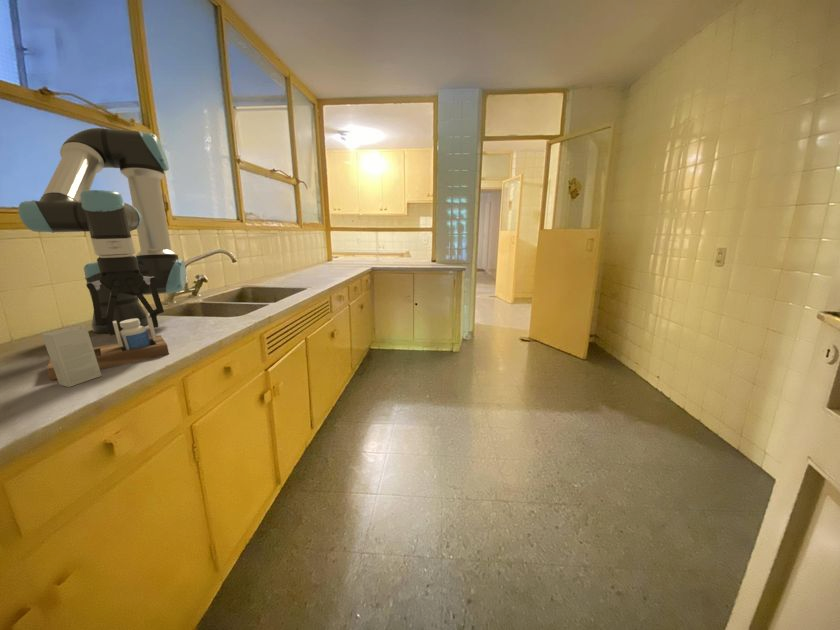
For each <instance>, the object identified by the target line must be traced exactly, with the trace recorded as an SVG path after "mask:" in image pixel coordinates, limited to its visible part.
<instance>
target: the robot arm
mask: <svg viewBox="0 0 840 630" xmlns="http://www.w3.org/2000/svg"><path fill="white" fill-rule="evenodd" d="M59 154H60V161H59V163H58V164H57V167H56V168H55V169H54V170H55V171H54V172H53V174H52V176H51V178H50V180H49V182H48V184H47V186H46V188H45V190H44V192H43V193H42V195H41V197H40V199H39V200H35V199H32V200H24V201H21V202H20V203H19V205H18V216H19V219H20V220H21V222H22V223H23V225H24V226H25V227H26V229H28V230H29V231H32V232H37V233H53V234H54V233H75V232H77V233H78V232H81V233H82V232H85V233H86V232H89V235H90V238H91V243H92V247H93V252H94V254H95V255H96V256H98V257H97V259H96V261H94V262H93V261H92V262H89V263H86V264H85V265H84V267H83V271H84V279H85V280H86V284H85V285H86V287H87V289H88V292H89V294H90V298H91V301H92V302H91V303H92V308H93V314H92V320H91V328H92V332H94V333H98V334H109V335H110V336H114V335H115V336H116V341H117V343H118V345H119V347H123V344H122V340H121V337H120V331H121V330H123V328H121V326H120V322H121V321H124V320H128V319H139V321H140V326H143V327H146V326H148V328H149V332H150V337H152V339H153V341H155V340H157V339H156V336H157V335H156V331H155V328H158V327H159V321H158V318H157V317H158V315H159V314H163V313H164V312H165V310H164V307H163V304H162V301H161V298H160V294H161V295H162V294H171V293H179V292H182V291H183V290H184V288H185V285H186V280H187V271H186V269H187V268H186V263H185V261H184V259H181V258H179V255H178V253H176V252H175V251H173V250H172V244H171V237H170V234H169V233H170V232H169V227H168V221H167V215H166V210H165V203H164V198H163V197H164V196H163V191H162V185H161V184H162V183H161V180H162V179H164V178H165V172H167V171H169V170H170V167H169V163H168V162H169V161H168V158H167V155H166V152H165V150H164V147H163V145H162V143H161V141H160V139H159V138H158V137H157V135H156V134H154V133H153V132H145V131H140V130H137V131H136V130H126V129H125V130H124V129H114V128H113V129H112V128H102V127H101V128H100V127H93V128H92V127H91V128H87V129H84V130H81V131H78V132H77V133H74V134H73V135H71V136H70V137H68V138H67V139H66V140H65V141H64V142H63V144H62V145H61V147H60V148H59ZM105 168H106V169H107V168H114V169H119V171H120V174H121V175H123V176H124V177H126V179H127V181H128V188H129V193H130V200H131V204H132V205H131V204H129V203H126V202H124V200H123V197H122V194H121V193H120V192H118V191H115V190H114V191H113V190H102V189H101V190H99V189H97V190H96V189H91V187H92V185H93V182H94V180H95V177H96V175H97V174H98V173H100V172H101V171H102V170H103V169H105ZM135 230H136V233H137V238H138V243H139V248H140V251H139V252H138V253H137V254H136V255H135V253H136V251H135V246H134V242H133V239H132V238H133V237H132V233H131V232H132V231H135ZM148 295H151V296H152V299H153V302H154V304H155V308H156V309H153V307H152V306H151V304H150V303H149V301H148V300H147V299H146V297H145V296H148ZM140 302H141V303H140ZM142 305H143V306H144V307H143V306H142ZM144 308H145V309H144ZM146 311H147V312H148V313H149V314H148V313H147V312H146Z"/></svg>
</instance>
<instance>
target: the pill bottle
mask: <svg viewBox="0 0 840 630" xmlns="http://www.w3.org/2000/svg"><path fill="white" fill-rule="evenodd" d="M120 326H121V328H123V330H121V331H120V332H119V333H120V337H121V341H122V343H123V345H124V348H125V351H126V350H131V349H136V348H141V347H146V346H151V344H150V341H149V335H148V332H147V329H146V326H140V321H139V319H128V320H124V321H121V322H120Z"/></svg>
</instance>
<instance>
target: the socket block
mask: <svg viewBox="0 0 840 630" xmlns="http://www.w3.org/2000/svg"><path fill="white" fill-rule="evenodd" d="M148 338H149V341H150V344H151V346H146V347H141V348H136V349H131V350H126V351H125V348H124V345H123V347H119V345H118V342H116V343H112V344H106V345H101V346H96V347H93V349H94V352H95V355H96V359H97V362H98V365H99V369H100V370H103V369H106V368H112V367H116V366H120V365H126V364H130V363H135V362H139V361H143V360H148V359H152V358H153V359H154V358H158V357H162V356H166V355H170V351H169V347H168V344H167V342H166V341H165V340H164V339H163V337H162V335H156V339H157V340H155V341H153V339H152V337H151V336H150V337H149V336H148ZM122 344H123V343H122ZM46 370H47V373H48V376H49V379H50V381H52V380H53V381H54V380H56V379H57V376H56V374H55V371H54V368H53V365H52V362H51V359H50V358H49V360H48V365H47V368H46ZM57 380H58V379H57Z"/></svg>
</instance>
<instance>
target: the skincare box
mask: <svg viewBox="0 0 840 630" xmlns="http://www.w3.org/2000/svg"><path fill="white" fill-rule="evenodd" d="M41 336H42V339H43V342H44V345H45V348H46V350H47V353H48V356H49V360H50V359H51V362H52V365H53V368H54V371H55V374H56V376H57V383H58V384H59V385H60V386H63V387H67V388H71V387H74V386H77V385H78V384H82V383H85V382H88V381H91V380H94V379H97V378H99V377H102V373H101V369H99V365H98V362H97V359H96V355H95V352H94V349H93V348H94V345H93V343H92V340H91V336H90V334H89V329H88V327H85V326H79V325H75V326H70V327H66V328H62V329H61V328H60V329H56V330H52V331H48V332H43V333H41Z"/></svg>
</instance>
